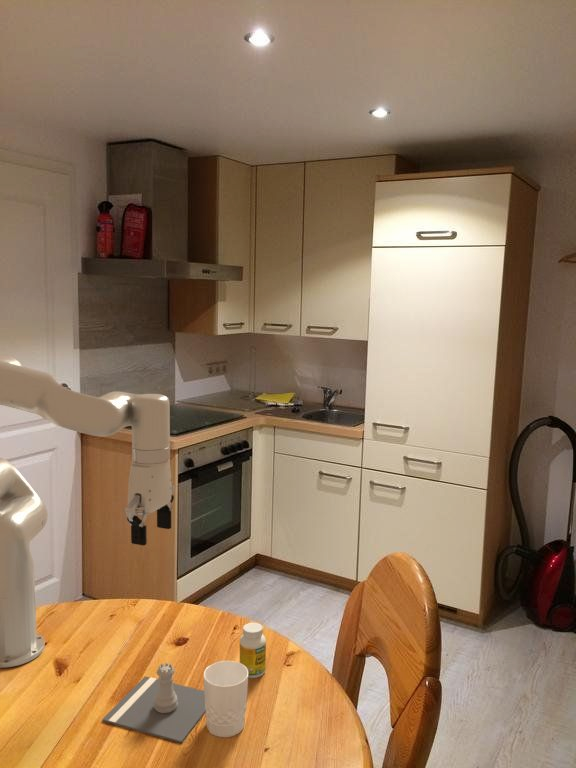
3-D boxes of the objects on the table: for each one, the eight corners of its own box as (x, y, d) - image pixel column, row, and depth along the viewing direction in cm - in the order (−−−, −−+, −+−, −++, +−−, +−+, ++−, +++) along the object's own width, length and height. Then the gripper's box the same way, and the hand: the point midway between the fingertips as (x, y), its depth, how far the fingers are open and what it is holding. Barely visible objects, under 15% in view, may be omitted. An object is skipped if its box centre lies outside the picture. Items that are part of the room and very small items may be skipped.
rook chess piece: (173, 716, 116) (172, 675, 115) (149, 713, 116) (149, 672, 115) (181, 701, 120) (181, 661, 119) (159, 698, 121) (158, 658, 120)
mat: (102, 721, 115) (102, 718, 115) (144, 678, 128) (144, 675, 128) (181, 743, 109) (181, 740, 109) (217, 696, 122) (217, 693, 122)
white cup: (207, 743, 109) (207, 689, 108) (200, 714, 117) (200, 663, 116) (252, 735, 112) (252, 682, 110) (242, 707, 119) (243, 657, 118)
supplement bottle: (248, 661, 134) (248, 618, 133) (270, 668, 132) (271, 624, 131) (234, 674, 130) (234, 629, 128) (256, 682, 127) (257, 636, 126)
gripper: (157, 444, 140) (158, 520, 142) (110, 463, 123) (111, 548, 126) (188, 447, 137) (188, 524, 139) (144, 467, 121) (145, 553, 123)
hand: (152, 535), depth 133 cm, fingers open, 9 cm apart
